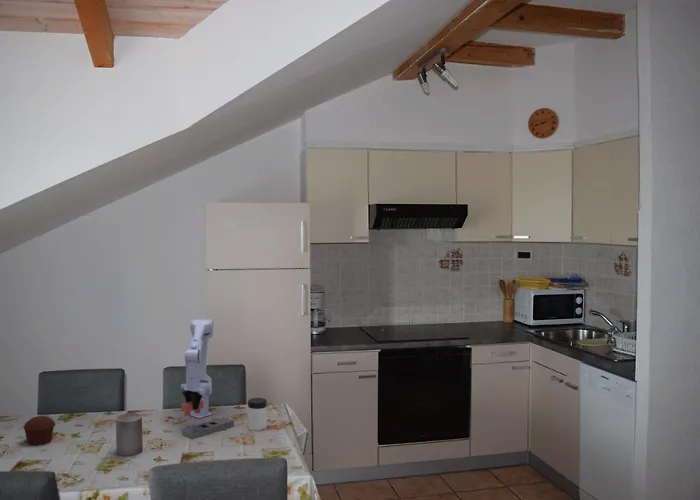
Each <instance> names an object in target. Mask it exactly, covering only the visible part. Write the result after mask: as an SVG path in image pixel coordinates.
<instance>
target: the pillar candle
mask: <svg viewBox="0 0 700 500" xmlns="http://www.w3.org/2000/svg"><path fill="white" fill-rule="evenodd" d="M115 431H116V432H115V434H116V439H115V441H116V444H115V445H116V447H115V448H116V454H117V455H118V456H121V457H122V456H124V457H125V456H134V455H138V454H140V453H142V452H143V449H144V447H143V445H144V444H143V443H144V442H143V416H142V415H141V414H139V413H136V412H135V413H133V412H131V413H123V414H120V415H118V416H117V417H116V418H115Z"/></svg>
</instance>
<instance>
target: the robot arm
mask: <svg viewBox="0 0 700 500" xmlns="http://www.w3.org/2000/svg"><path fill="white" fill-rule="evenodd" d="M189 325H190V326H189V327H190V329H189V330H190V332H191V335H192V338H191V339H190V341H189V344H188V348H187V349H186V350H185V351H184V363H185V364H184V365H185V383H181V385H180V390H183V391H182V395H183V397H184V399H185V403H186V402H190V401H192V403H193V411H190V416H191V417H194V418H198V419H202V418H205V417H208V416H212V415H213V413H212V412H210V411H209V398H210V397H209V396H211V394H212V392H213V382H212V381H213V379H212V377H211V376H209V374H207V364H208V362H207V361H208V343H209V339H211V338H212V337H213V336H214V321H213V319H211V318H210V319H194V318H192V319H191V320H190V324H189ZM200 400H202V401H203V408H201V409H200V413H198V414H197V413H195V412H194V410H196V409H198V407H199V403H200Z"/></svg>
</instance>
